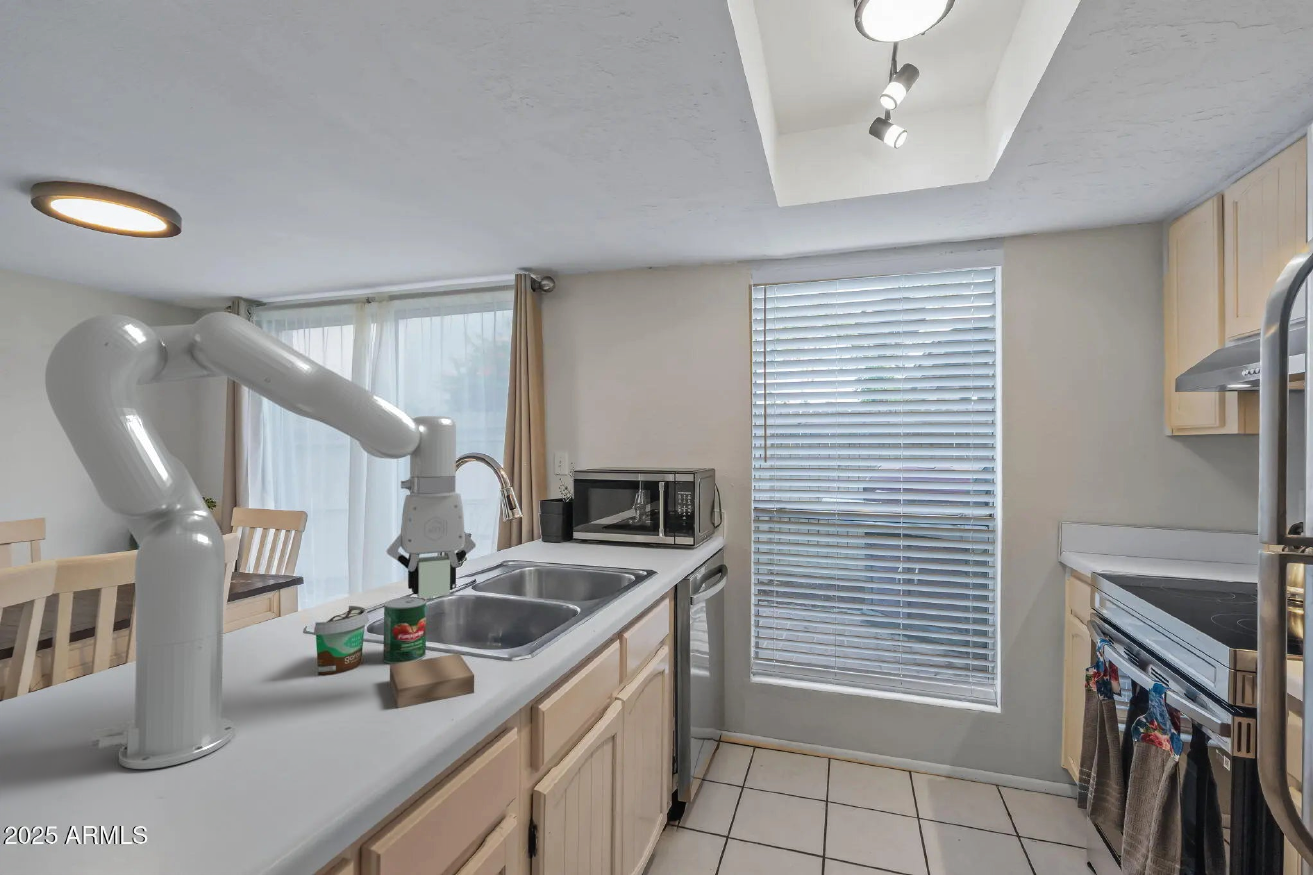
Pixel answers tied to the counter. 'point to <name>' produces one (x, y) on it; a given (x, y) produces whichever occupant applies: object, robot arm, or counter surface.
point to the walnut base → (430, 680)
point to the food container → (340, 641)
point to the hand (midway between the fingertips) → (432, 589)
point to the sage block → (433, 576)
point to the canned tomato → (404, 630)
